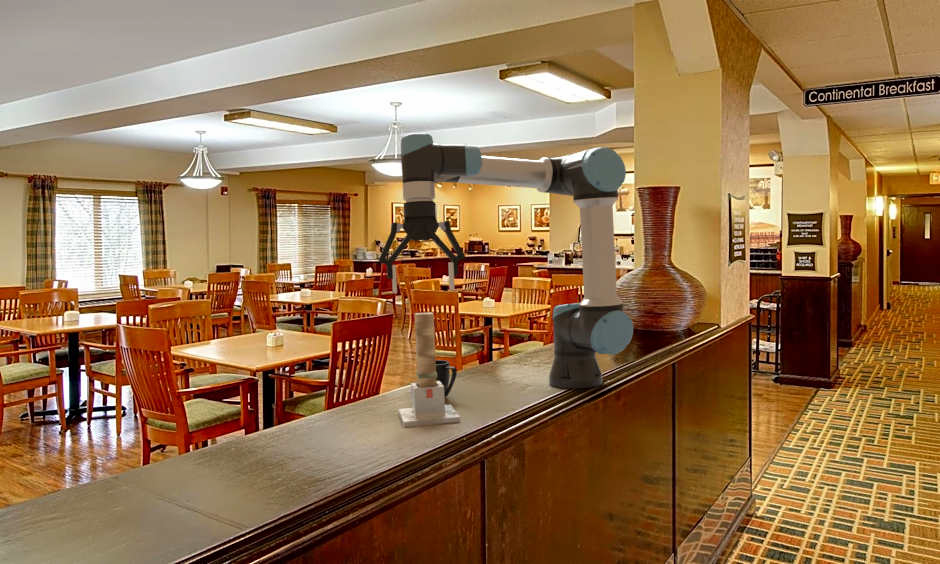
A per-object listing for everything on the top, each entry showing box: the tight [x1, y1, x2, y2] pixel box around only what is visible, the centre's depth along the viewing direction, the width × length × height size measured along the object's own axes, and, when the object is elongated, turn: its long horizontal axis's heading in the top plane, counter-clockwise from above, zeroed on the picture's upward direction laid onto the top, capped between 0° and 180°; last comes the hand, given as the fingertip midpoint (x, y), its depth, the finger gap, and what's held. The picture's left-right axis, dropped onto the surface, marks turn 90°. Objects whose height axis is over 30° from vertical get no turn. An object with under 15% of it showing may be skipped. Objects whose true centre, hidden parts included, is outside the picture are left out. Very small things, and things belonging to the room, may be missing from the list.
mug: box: [436, 359, 458, 398], centre depth 181 cm, size 8×12×10 cm
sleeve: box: [398, 381, 461, 428], centre depth 161 cm, size 13×13×8 cm
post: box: [414, 312, 437, 387], centre depth 160 cm, size 4×4×19 cm
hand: (423, 291), depth 159 cm, fingers open, 13 cm apart
